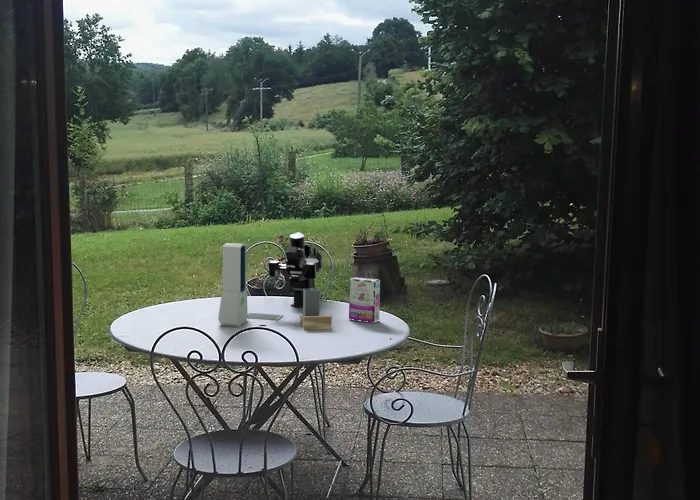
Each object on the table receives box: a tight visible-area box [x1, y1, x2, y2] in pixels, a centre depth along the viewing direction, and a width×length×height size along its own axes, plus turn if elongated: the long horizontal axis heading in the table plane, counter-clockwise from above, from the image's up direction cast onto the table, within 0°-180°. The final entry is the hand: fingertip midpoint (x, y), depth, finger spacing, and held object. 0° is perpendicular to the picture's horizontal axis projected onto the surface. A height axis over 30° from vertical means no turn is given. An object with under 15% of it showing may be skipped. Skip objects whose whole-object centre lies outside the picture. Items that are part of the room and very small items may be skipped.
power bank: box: [302, 287, 321, 316], centre depth 287 cm, size 5×6×12 cm
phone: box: [247, 312, 284, 321], centre depth 291 cm, size 7×14×1 cm, turn 78°
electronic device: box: [217, 242, 249, 328], centre depth 278 cm, size 12×8×30 cm, turn 168°
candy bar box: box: [348, 276, 381, 322], centre depth 288 cm, size 11×5×16 cm, turn 62°
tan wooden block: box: [299, 314, 333, 331], centre depth 278 cm, size 10×10×5 cm
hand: (287, 279), depth 287 cm, fingers open, 9 cm apart
